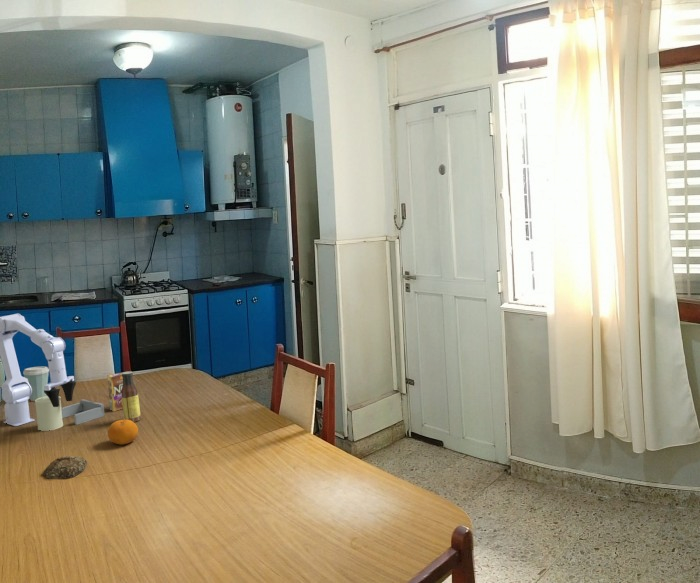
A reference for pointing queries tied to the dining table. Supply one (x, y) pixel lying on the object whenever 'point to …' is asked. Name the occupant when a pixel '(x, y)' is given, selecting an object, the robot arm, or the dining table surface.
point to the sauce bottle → (130, 398)
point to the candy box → (115, 391)
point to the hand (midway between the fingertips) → (62, 403)
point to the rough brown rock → (65, 467)
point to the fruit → (122, 431)
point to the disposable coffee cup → (37, 381)
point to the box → (83, 411)
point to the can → (48, 414)
